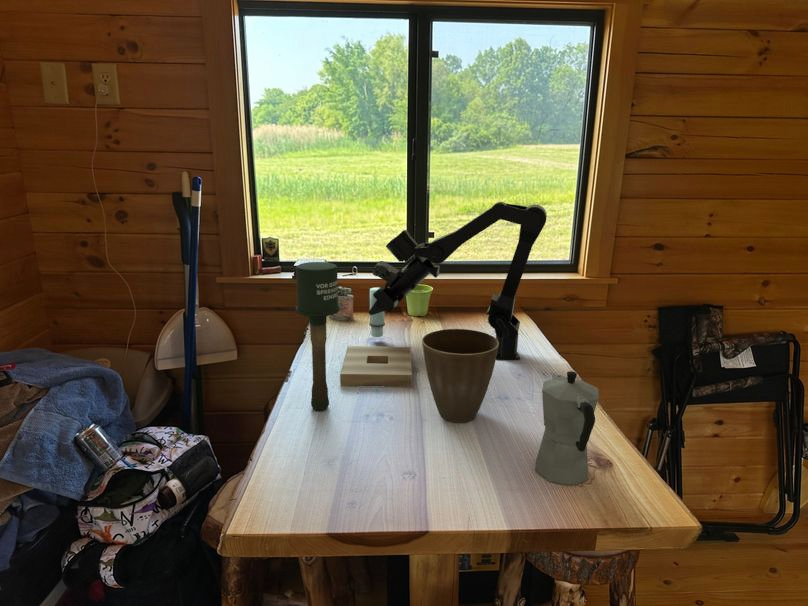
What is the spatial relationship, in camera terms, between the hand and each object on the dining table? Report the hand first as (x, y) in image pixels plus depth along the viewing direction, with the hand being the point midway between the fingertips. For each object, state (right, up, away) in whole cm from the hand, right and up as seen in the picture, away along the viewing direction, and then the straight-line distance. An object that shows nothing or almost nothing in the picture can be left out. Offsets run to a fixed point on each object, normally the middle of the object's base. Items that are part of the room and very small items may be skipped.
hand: (372, 311), depth 154 cm
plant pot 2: (+19, -21, -39) cm, 48 cm away
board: (+2, -14, -18) cm, 23 cm away
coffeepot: (+35, -27, -59) cm, 74 cm away
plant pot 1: (+13, -1, +28) cm, 31 cm away
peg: (+1, -6, +1) cm, 7 cm away
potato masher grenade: (-9, -19, -38) cm, 43 cm away
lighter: (-11, -3, +22) cm, 25 cm away
